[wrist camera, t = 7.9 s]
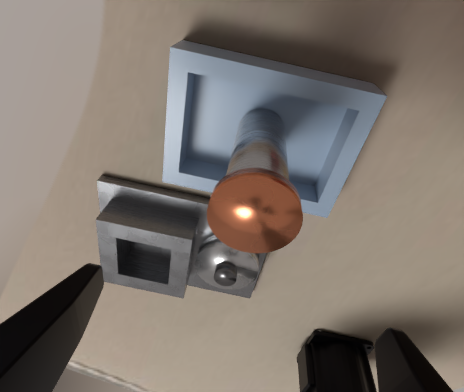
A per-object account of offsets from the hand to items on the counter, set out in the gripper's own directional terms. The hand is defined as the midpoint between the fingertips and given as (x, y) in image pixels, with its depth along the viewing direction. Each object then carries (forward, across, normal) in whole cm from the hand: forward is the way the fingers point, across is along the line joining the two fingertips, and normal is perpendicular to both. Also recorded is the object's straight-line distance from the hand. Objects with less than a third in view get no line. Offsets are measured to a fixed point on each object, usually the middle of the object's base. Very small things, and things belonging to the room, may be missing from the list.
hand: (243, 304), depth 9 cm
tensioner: (+13, +4, +11) cm, 17 cm away
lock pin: (+12, 0, -1) cm, 12 cm away
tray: (+13, 0, -1) cm, 13 cm away
